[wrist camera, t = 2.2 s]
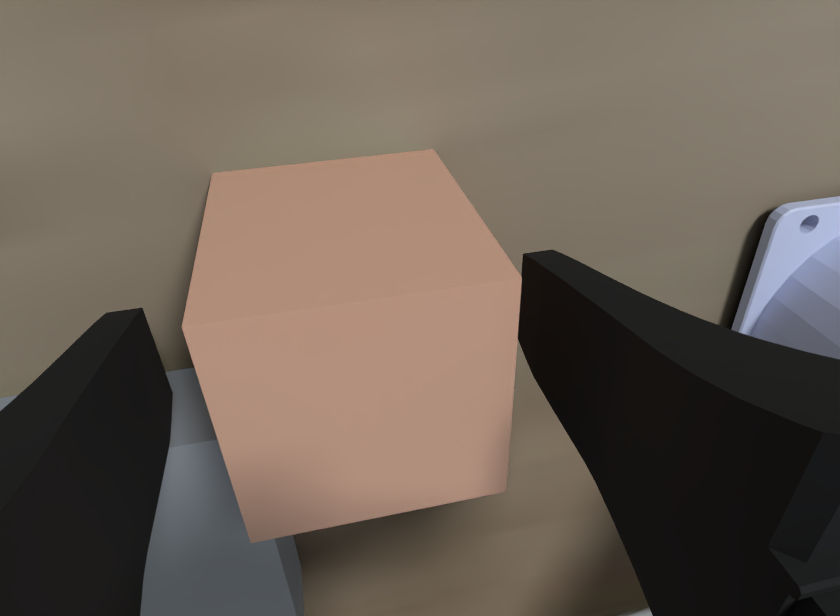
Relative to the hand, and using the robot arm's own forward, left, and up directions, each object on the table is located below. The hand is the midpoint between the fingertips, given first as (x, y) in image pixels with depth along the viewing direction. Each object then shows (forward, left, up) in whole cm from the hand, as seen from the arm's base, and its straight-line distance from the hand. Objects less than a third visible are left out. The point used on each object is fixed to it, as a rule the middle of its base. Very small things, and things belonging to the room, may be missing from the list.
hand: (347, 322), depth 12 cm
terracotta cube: (0, 0, -3) cm, 3 cm away
